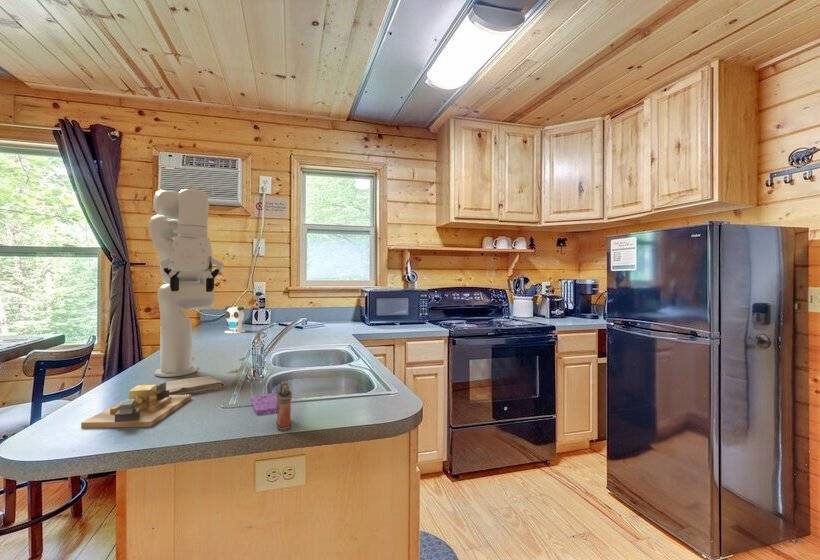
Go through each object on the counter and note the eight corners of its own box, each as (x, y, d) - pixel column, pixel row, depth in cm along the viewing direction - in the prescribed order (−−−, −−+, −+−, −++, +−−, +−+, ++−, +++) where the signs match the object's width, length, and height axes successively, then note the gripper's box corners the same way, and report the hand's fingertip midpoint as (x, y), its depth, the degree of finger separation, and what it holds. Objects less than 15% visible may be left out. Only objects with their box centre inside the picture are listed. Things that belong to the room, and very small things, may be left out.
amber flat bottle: (275, 420, 96) (276, 379, 96) (290, 418, 98) (290, 378, 97) (276, 432, 89) (277, 388, 89) (292, 430, 90) (293, 387, 90)
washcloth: (147, 392, 117) (147, 382, 117) (211, 381, 130) (211, 372, 130) (158, 402, 109) (158, 391, 109) (225, 389, 122) (225, 379, 122)
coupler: (146, 412, 97) (146, 392, 96) (125, 413, 95) (125, 393, 95) (159, 400, 105) (159, 382, 105) (140, 402, 104) (140, 383, 104)
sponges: (276, 398, 114) (276, 392, 114) (284, 412, 103) (284, 405, 103) (249, 402, 110) (250, 395, 110) (255, 417, 99) (255, 409, 99)
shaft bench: (134, 399, 109) (134, 381, 109) (190, 399, 111) (191, 380, 111) (80, 428, 89) (80, 405, 89) (150, 426, 91) (150, 404, 91)
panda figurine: (219, 332, 231) (219, 306, 231) (234, 329, 242) (235, 305, 241) (234, 333, 226) (234, 307, 226) (249, 331, 237) (249, 306, 237)
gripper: (154, 230, 111) (154, 291, 111) (218, 232, 112) (217, 292, 112) (168, 233, 118) (168, 290, 118) (228, 234, 120) (227, 291, 120)
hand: (192, 291), depth 115 cm, fingers open, 9 cm apart
